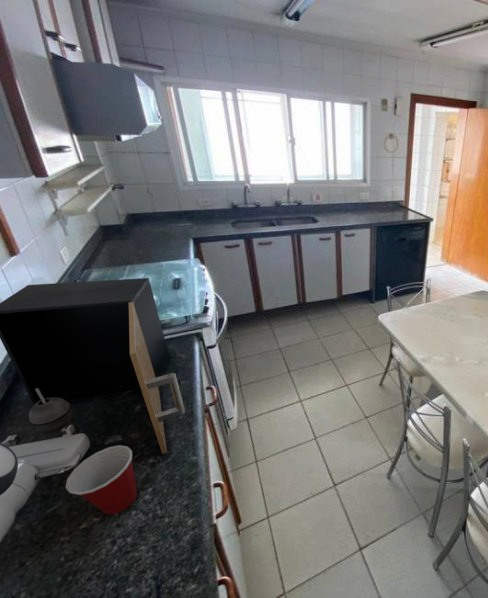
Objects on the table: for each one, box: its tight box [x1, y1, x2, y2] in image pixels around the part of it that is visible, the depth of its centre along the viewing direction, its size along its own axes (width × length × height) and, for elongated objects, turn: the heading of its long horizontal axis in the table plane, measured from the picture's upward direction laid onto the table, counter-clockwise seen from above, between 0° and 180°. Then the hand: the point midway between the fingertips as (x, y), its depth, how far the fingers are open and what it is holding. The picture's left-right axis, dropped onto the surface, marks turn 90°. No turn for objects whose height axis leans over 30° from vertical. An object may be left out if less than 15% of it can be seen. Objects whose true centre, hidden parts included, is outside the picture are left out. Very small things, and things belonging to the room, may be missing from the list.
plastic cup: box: [65, 445, 138, 515], centre depth 70 cm, size 11×11×12 cm
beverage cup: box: [28, 388, 81, 440], centre depth 80 cm, size 7×7×20 cm
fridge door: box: [129, 302, 186, 455], centre depth 90 cm, size 7×30×31 cm, turn 37°
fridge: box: [0, 277, 170, 406], centre depth 101 cm, size 18×30×32 cm, turn 112°
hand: (43, 432), depth 75 cm, fingers open, 8 cm apart
